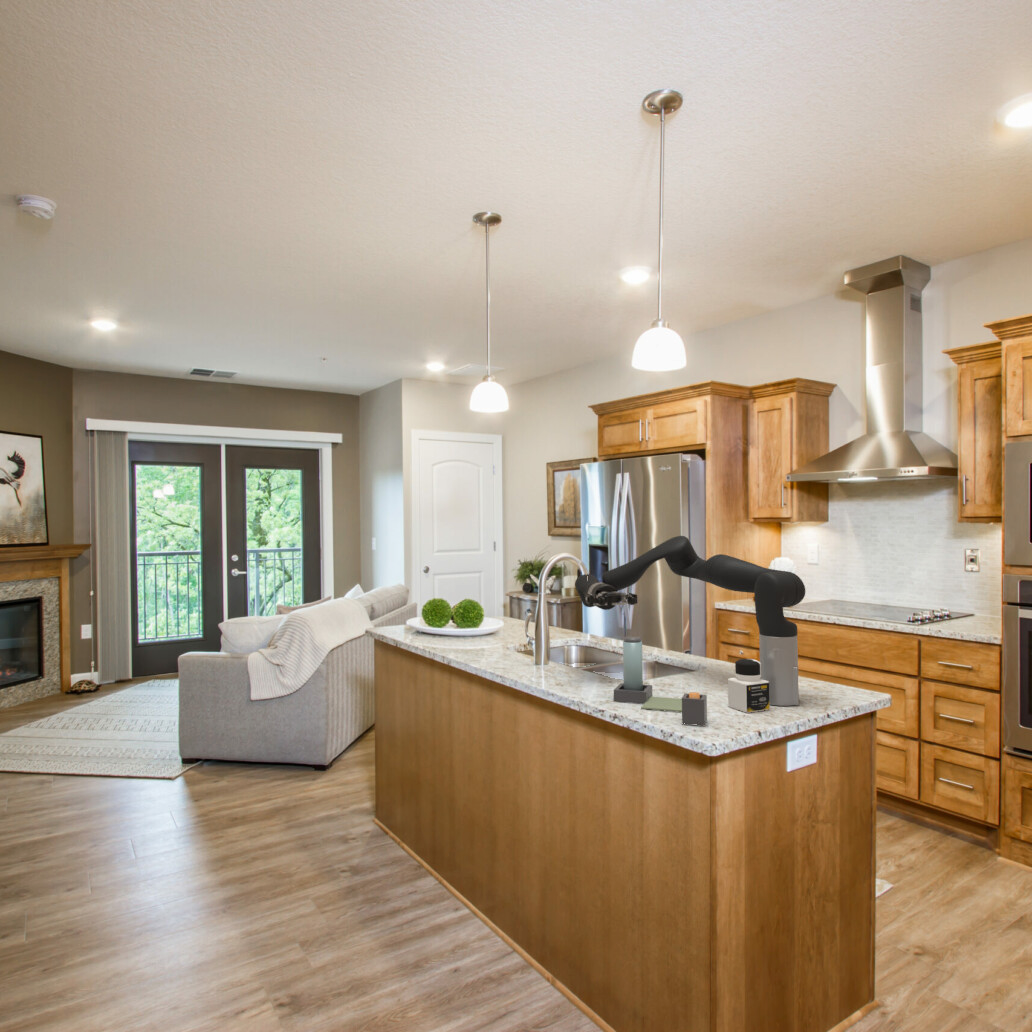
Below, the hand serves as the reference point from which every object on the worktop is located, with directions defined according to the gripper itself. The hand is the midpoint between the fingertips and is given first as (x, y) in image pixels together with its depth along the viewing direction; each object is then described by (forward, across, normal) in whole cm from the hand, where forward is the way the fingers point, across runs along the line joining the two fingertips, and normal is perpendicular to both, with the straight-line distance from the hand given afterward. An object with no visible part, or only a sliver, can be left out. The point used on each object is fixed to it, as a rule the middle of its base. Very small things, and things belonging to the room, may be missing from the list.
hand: (618, 601), depth 204 cm
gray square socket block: (+36, -7, -24) cm, 44 cm away
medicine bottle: (+27, -25, -24) cm, 44 cm away
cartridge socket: (+12, 0, -24) cm, 27 cm away
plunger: (+36, -7, -23) cm, 43 cm away
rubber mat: (+20, -7, -24) cm, 32 cm away
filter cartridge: (+12, 0, -24) cm, 27 cm away
